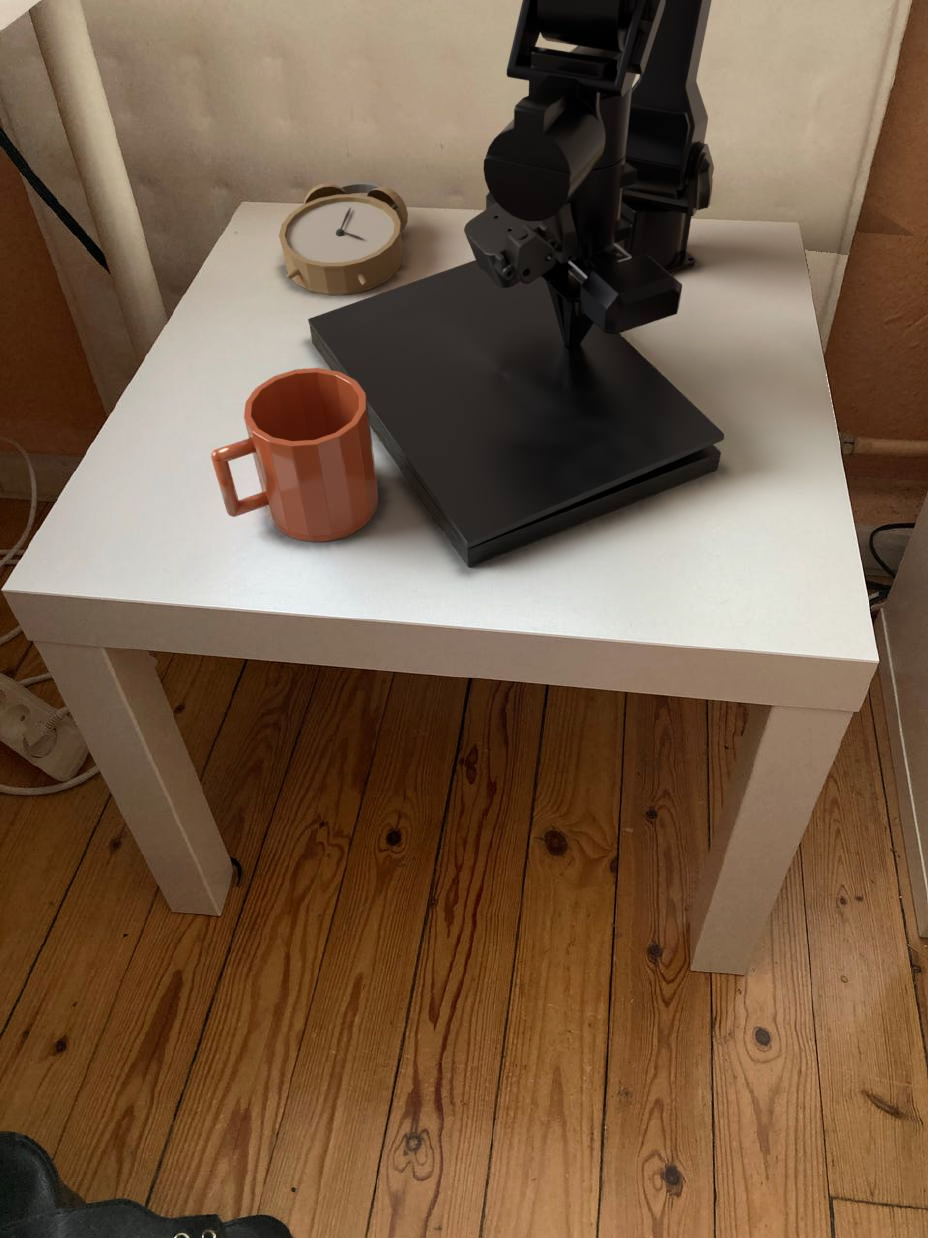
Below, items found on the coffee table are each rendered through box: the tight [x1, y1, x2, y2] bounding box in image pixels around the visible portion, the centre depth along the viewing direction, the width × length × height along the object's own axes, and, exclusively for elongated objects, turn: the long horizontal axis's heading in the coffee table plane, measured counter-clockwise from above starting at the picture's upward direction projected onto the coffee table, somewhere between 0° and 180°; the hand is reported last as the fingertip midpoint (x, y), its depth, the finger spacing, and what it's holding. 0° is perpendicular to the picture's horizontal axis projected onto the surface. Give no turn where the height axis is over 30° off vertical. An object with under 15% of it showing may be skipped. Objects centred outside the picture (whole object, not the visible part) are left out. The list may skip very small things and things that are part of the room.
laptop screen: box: [307, 259, 725, 548], centre depth 81 cm, size 21×30×1 cm
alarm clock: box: [278, 182, 409, 296], centre depth 97 cm, size 11×5×15 cm
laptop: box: [309, 325, 722, 568], centre depth 82 cm, size 21×30×2 cm
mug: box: [210, 367, 380, 543], centre depth 72 cm, size 11×8×9 cm
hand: (571, 344), depth 82 cm, fingers closed, pressing on laptop screen
